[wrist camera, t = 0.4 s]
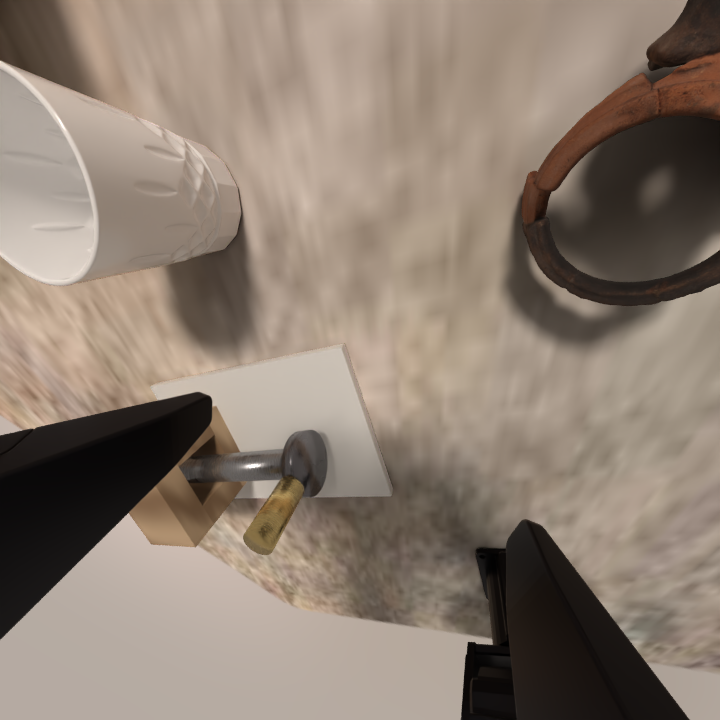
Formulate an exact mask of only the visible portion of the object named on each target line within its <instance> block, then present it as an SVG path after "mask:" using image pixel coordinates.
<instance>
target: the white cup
mask: <svg viewBox="0 0 720 720" xmlns="http://www.w3.org/2000/svg"><path fill="white" fill-rule="evenodd" d="M240 217H241V207H240V200H239V194H238V188H237V185H236V183H235V181H234V180H233V178H232V176H231V174H230V172H229V170H228V168H227V166H226V164H225V163H224V162H223V161H222V160H221V159H220V158H218V157H217V156H216V155H215V154H214V153H213V152H212V151H210V150H209V149H208V148H207V147H206V146H204V145H201V144H199V143H196V142H194V141H191V140H188V139H186V138H183V137H180V136H178V135H176V134H174V133H172V132H170V131H168V130H167V129H165V128H163V127H161V126H159V125H156V124H154V123H152V122H149V121H147V120H144V119H142V118H139V117H137V116H135V115H133V114H131V113H129V112H127V111H124V110H122V109H119V108H117V107H114V106H112V105H109V104H107V103H104V102H102V101H99V100H97V99H94V98H92V97H89V96H87V95H84V94H82V93H79V92H77V91H74V90H72V89H69V88H67V87H64V86H62V85H59V84H57V83H55V82H52V81H50V80H47V79H45V78H42V77H40V76H37V75H35V74H32V73H30V72H28V71H25V70H23V69H20V68H18V67H15V66H13V65H10V64H8V63H6V62H3V61H1V60H0V256H1V257H2V258H3V259H4V260H5V261H7V262H8V263H9V264H10V265H12V266H13V267H14V268H15V269H17V270H18V271H20V272H21V273H23V274H25V275H26V276H28V277H30V278H32V279H34V280H36V281H39V282H41V283H44V284H48V285H53V286H67V285H72V284H77V283H82V282H87V281H92V280H96V279H101V278H106V277H111V276H116V275H121V274H126V273H131V272H136V271H141V270H146V269H151V268H155V267H160V266H165V265H169V264H173V263H176V262H181V261H186V260H190V259H191V258H193V257H196V256H202V255H207V254H210V253H214V252H217V251H221V250H224V249H225V248H226V247H227V246H228V245H229V243H230V242H231V241H232V240H233V239H234V237H235V236H236V235H237V231H238V226H239V222H240Z"/></svg>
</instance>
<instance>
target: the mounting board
mask: <svg viewBox="0 0 720 720" xmlns="http://www.w3.org/2000/svg"><path fill="white" fill-rule="evenodd" d="M150 387H151V389H152V391H153V393H154V394H155V396H156V398H157V399H158V400H162V399H167V398H171V397H176V396H180V395H185V394H189V393H194V392H201V393H204V394H207V395H209V396H211V398H212V406H217V408H218V410H219V412H220V414H221V416H222V418H223V420H224V422H225V424H226V425H227V427H228V429H229V431H230V433H231V435H232V437H233V439H234V441H235V443H236V445H237V447H238V449H239V450H240V452H251V451H263V450H275V449H284V446H285V443H286V441H287V440H288V438H289V437H290V436H291V435H292V434H293V433H294V432H297V431H304V430H314V431H316V432H318V433H319V434H320V436H321V437H322V439H323V441H324V444H325V447H326V451H327V460H328V466H327V475H326V479H325V482H324V485H323V487H322V489H321V491H320V492H319V493H318V494H317V495H316V496H314V497H387V496H392V493H393V487H392V484H391V481H390V478H389V475H388V472H387V469H386V466H385V463H384V460H383V457H382V454H381V451H380V448H379V445H378V442H377V439H376V436H375V433H374V430H373V427H372V424H371V421H370V418H369V415H368V412H367V409H366V406H365V403H364V400H363V397H362V394H361V391H360V388H359V385H358V382H357V379H356V376H355V373H354V370H353V367H352V364H351V361H350V358H349V355H348V352H347V349H346V346H345V343H343V344H338V345H333V346H329V347H324V348H319V349H315V350H310V351H305V352H300V353H296V354H291V355H286V356H281V357H277V358H272V359H267V360H263V361H258V362H253V363H248V364H244V365H239V366H234V367H229V368H225V369H220V370H215V371H211V372H206V373H201V374H196V375H192V376H187V377H182V378H177V379H173V380H168V381H163V382H159V383H156V384H154V385H152V386H150ZM279 481H280V480H265V481H247V483H246V484H245V485H244V486H243V488H242V489H241V490H240V491H239V493H238V494H237V495H236V497H235V498H234V499H240V498H268V497H269V496H270V494H271V493H272V491H273V490H274V488H275V487H276V485H277V484H278V482H279ZM314 497H302V498H314Z"/></svg>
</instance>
